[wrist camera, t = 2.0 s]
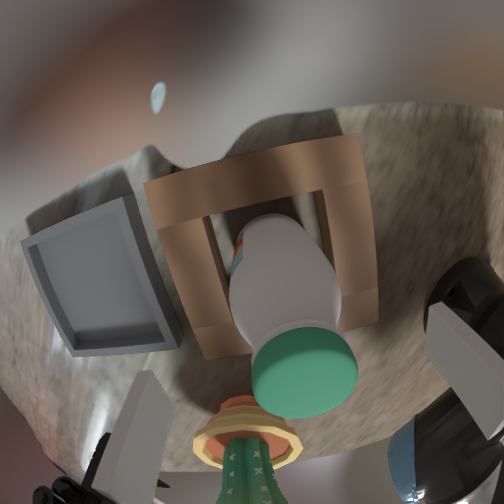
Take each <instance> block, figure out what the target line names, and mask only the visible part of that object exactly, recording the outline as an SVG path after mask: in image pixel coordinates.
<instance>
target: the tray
mask: <svg viewBox="0 0 504 504" xmlns="http://www.w3.org/2000/svg"><path fill="white" fill-rule="evenodd" d="M20 242H21V246H22V249H23V252H24V255H25V257H26V260H27V263H28V266H29V268H30V271H31V274H32V276H33V279H34V281H35V284H36V286H37V288H38V291H39V293H40V295H41V298H42V300H43V302H44V304H45V306H46V308H47V311H48V313H49V315H50V317H51V319H52V321H53V323H54V325H55V326H56V328H57V330H58V332H59V334H60V336H61V338H62V339H63V341H64V343H65V345H66V346H67V348H68V350H69V352H70V353H71V355H72V356H73V357H90V356H109V355H123V354H135V353H146V352H156V351H164V350H173V349H179V347H180V344H181V341H182V338H183V335H184V334H183V331H182V329H181V327H180V324H179V322H178V320H177V317H176V315H175V312H174V310H173V307H172V305H171V302H170V300H169V297H168V295H167V292H166V289H165V287H164V284H163V281H162V279H161V276H160V273H159V270H158V268H157V265H156V262H155V259H154V256H153V253H152V250H151V247H150V244H149V241H148V238H147V235H146V232H145V229H144V226H143V222H142V219H141V216H140V212H139V209H138V205H137V202H136V198H135V195H134V193H133V194H130V195H126V196H123V197H120V198H117V199H115V200H112V201H109V202H107V203H104V204H102V205H99V206H97V207H94V208H92V209H89V210H87V211H84V212H82V213H80V214H77V215H75V216H73V217H70V218H68V219H66V220H63V221H61V222H59V223H57V224H55V225H52V226H50V227H48V228H46V229H44V230H42V231H40V232H38V233H36V234H34V235H32V236H30V237H28V238H26V239H24V240H22V241H20Z"/></svg>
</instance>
